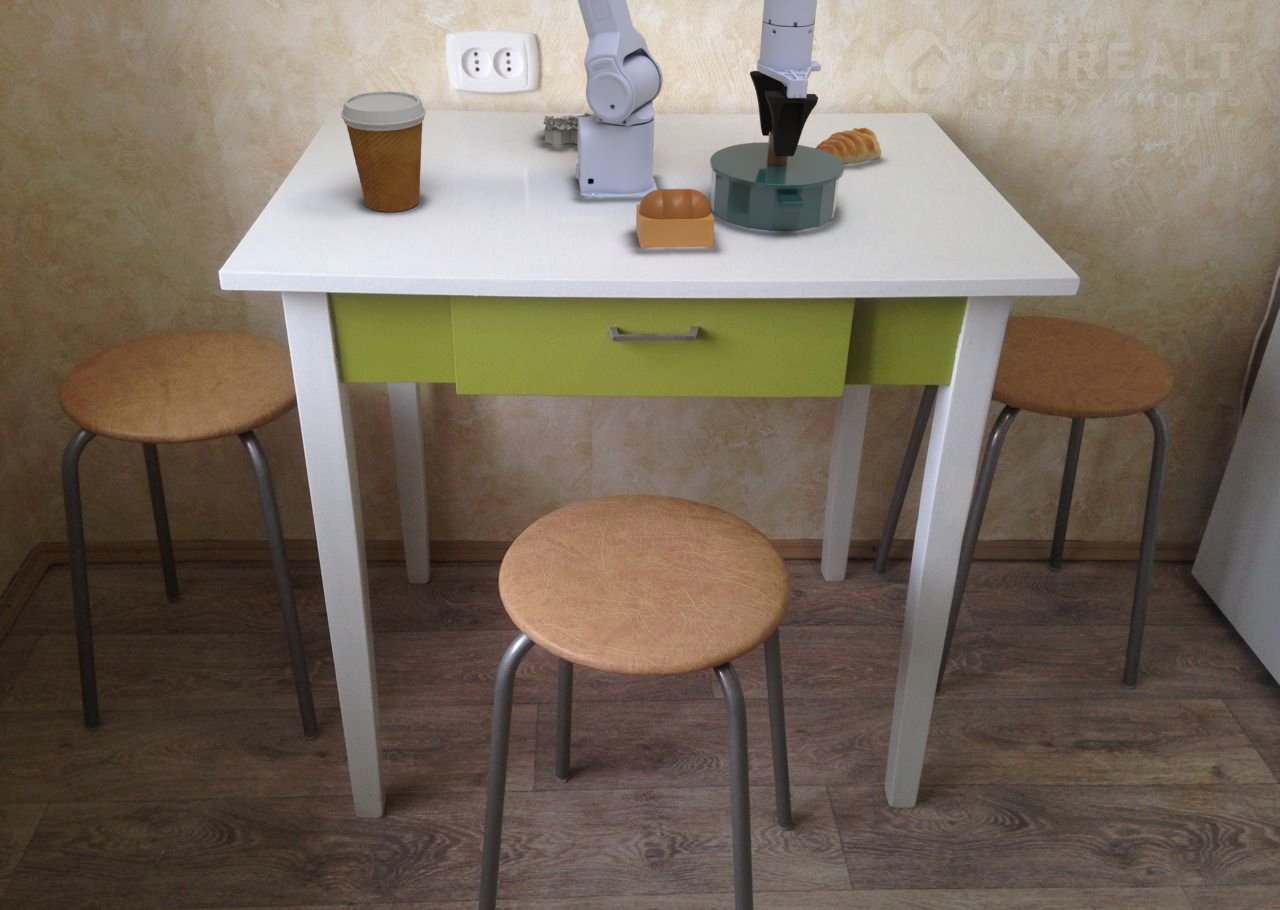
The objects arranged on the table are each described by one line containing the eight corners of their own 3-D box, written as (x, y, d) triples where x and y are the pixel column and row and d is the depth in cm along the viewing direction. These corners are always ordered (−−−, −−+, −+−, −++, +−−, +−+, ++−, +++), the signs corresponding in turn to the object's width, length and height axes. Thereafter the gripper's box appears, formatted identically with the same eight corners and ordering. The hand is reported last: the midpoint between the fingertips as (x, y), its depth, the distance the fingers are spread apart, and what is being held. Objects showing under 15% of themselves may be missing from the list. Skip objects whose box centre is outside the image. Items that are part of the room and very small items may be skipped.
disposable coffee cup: (402, 184, 141) (393, 85, 135) (448, 204, 136) (441, 102, 129) (335, 201, 136) (323, 99, 129) (381, 223, 130) (370, 117, 124)
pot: (725, 244, 127) (728, 197, 124) (699, 184, 144) (701, 141, 141) (853, 242, 128) (859, 195, 125) (813, 183, 145) (817, 140, 142)
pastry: (836, 174, 148) (839, 144, 146) (799, 161, 153) (801, 132, 151) (884, 160, 153) (887, 132, 151) (846, 148, 158) (849, 120, 156)
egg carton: (621, 135, 161) (622, 106, 158) (620, 152, 154) (620, 121, 152) (545, 133, 161) (545, 103, 158) (541, 149, 154) (540, 119, 152)
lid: (721, 195, 126) (723, 153, 123) (700, 151, 139) (702, 113, 137) (858, 193, 127) (864, 152, 125) (825, 150, 141) (829, 112, 138)
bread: (640, 251, 125) (641, 198, 121) (635, 234, 129) (637, 183, 126) (712, 250, 125) (715, 197, 122) (705, 233, 130) (708, 182, 126)
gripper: (840, 36, 119) (826, 164, 126) (809, 8, 131) (797, 126, 138) (774, 36, 118) (763, 165, 125) (749, 7, 130) (740, 126, 137)
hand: (777, 145), depth 132 cm, fingers open, 7 cm apart
